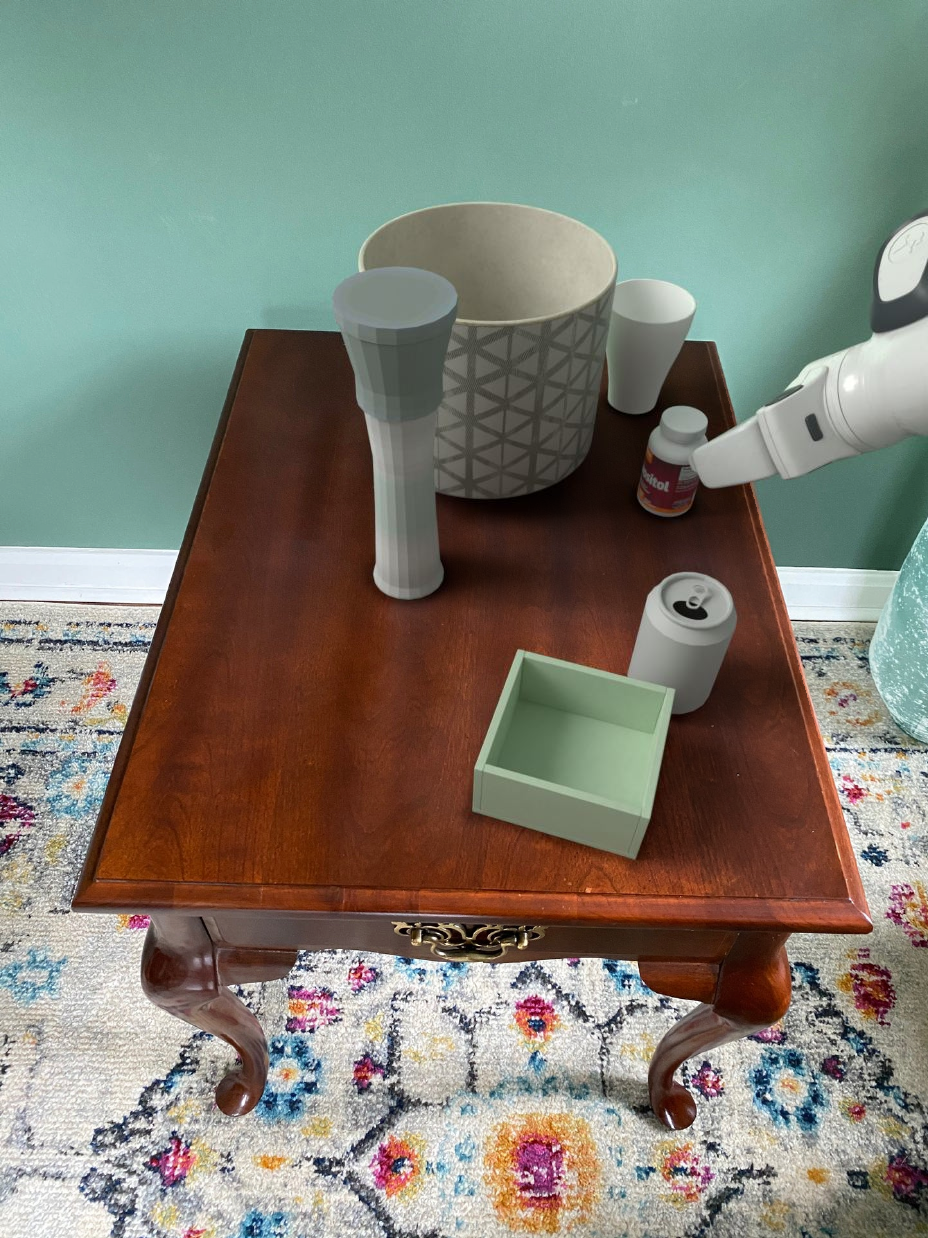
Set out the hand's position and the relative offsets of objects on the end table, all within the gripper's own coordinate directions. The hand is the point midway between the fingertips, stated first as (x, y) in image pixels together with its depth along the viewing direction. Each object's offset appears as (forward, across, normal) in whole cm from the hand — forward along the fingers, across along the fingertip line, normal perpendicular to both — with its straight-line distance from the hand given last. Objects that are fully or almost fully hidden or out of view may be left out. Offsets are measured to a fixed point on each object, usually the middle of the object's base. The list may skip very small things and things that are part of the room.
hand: (725, 442), depth 85 cm
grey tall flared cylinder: (+17, +30, -2) cm, 34 cm away
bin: (-2, +33, +17) cm, 37 cm away
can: (-1, +20, +16) cm, 26 cm away
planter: (+25, +11, -9) cm, 29 cm away
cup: (+22, -11, -7) cm, 26 cm away
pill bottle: (+11, 0, +4) cm, 12 cm away
